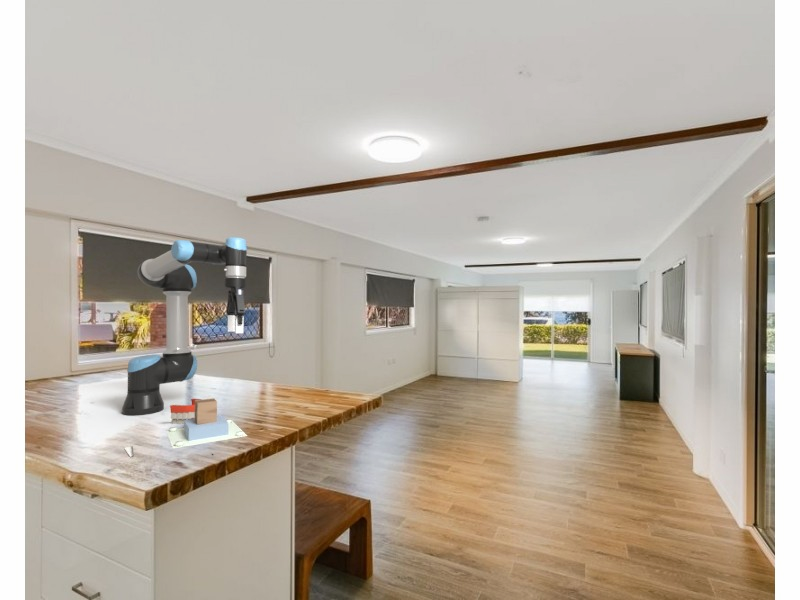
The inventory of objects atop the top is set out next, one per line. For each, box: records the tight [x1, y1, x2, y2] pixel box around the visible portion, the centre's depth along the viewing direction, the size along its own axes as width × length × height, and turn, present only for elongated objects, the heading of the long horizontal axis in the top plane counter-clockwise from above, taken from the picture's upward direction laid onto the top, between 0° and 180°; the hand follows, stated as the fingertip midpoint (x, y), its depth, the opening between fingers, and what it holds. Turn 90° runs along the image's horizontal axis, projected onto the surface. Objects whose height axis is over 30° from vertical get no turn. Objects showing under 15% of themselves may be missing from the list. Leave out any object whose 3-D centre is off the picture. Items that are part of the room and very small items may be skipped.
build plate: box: [165, 419, 248, 449], centre depth 139 cm, size 22×22×2 cm
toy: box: [169, 398, 203, 425], centre depth 155 cm, size 12×10×8 cm
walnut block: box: [195, 397, 218, 425], centre depth 139 cm, size 6×6×7 cm
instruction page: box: [123, 445, 135, 458], centre depth 125 cm, size 10×7×1 cm
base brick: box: [183, 414, 229, 441], centre depth 139 cm, size 12×12×4 cm
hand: (235, 332), depth 157 cm, fingers open, 13 cm apart
